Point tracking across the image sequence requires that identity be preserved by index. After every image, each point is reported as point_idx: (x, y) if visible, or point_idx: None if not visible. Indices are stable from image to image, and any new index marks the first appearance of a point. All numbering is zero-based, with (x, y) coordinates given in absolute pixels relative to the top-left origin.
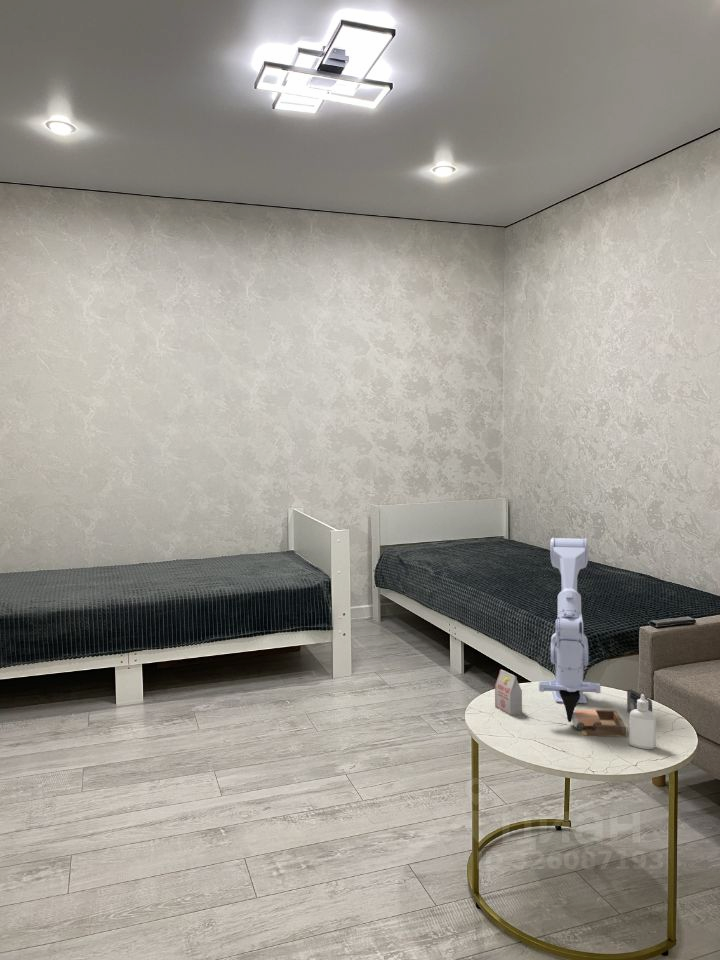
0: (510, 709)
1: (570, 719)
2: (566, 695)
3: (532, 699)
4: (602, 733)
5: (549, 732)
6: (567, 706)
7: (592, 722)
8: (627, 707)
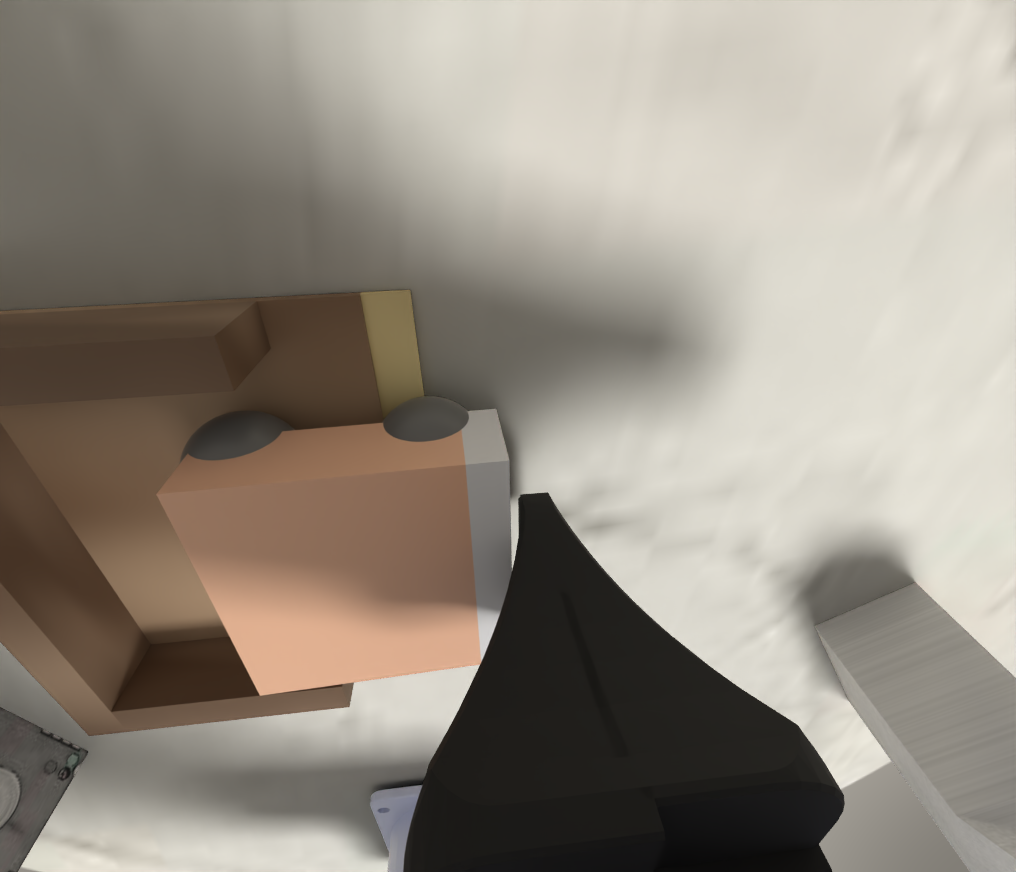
0: (952, 622)
1: (532, 505)
2: (720, 831)
3: None
4: (168, 311)
5: (751, 319)
6: (616, 616)
7: (277, 452)
8: (60, 791)
